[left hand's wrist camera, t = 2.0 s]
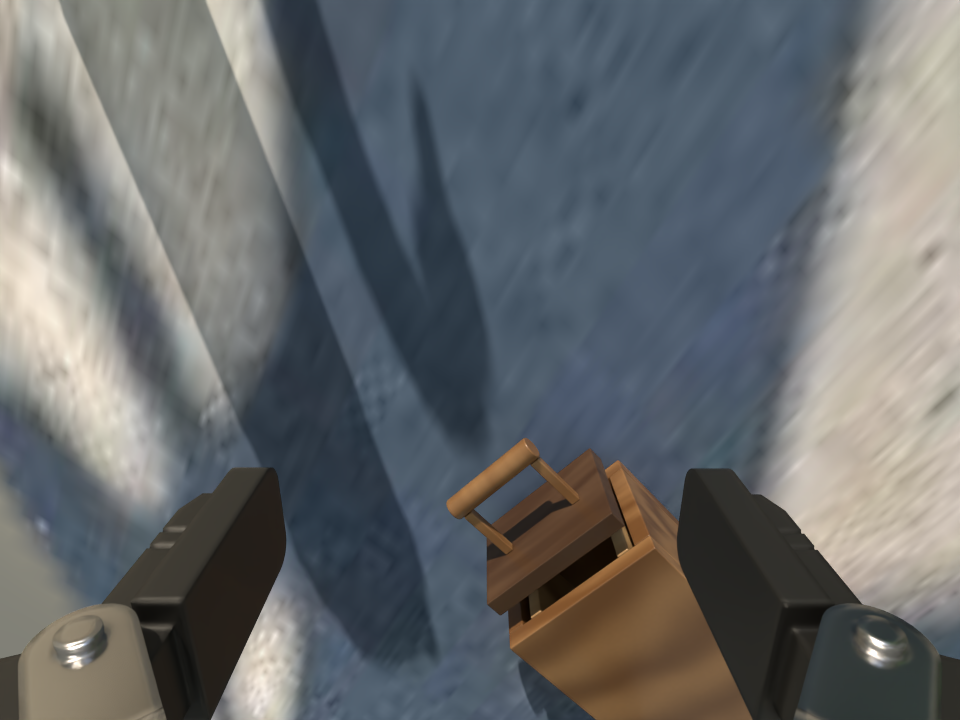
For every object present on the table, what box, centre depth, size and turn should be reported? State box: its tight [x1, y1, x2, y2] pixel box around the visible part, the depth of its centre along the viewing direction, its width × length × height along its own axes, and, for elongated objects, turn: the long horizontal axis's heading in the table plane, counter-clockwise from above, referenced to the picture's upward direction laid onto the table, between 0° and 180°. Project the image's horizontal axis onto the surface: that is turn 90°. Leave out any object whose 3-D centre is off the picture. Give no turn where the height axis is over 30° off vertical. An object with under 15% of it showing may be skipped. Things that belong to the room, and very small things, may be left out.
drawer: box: [447, 438, 634, 619], centre depth 38 cm, size 26×9×7 cm, turn 43°
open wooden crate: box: [508, 460, 753, 720], centre depth 40 cm, size 22×11×9 cm, turn 43°
